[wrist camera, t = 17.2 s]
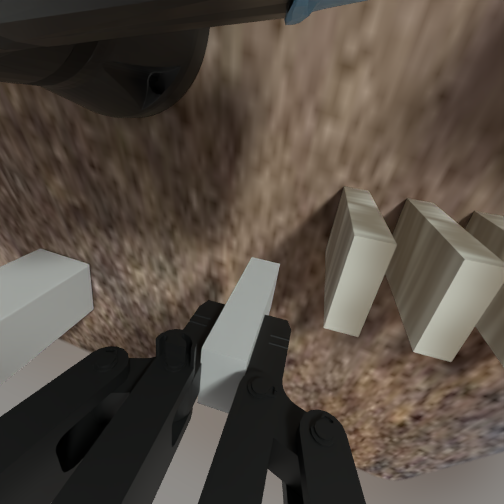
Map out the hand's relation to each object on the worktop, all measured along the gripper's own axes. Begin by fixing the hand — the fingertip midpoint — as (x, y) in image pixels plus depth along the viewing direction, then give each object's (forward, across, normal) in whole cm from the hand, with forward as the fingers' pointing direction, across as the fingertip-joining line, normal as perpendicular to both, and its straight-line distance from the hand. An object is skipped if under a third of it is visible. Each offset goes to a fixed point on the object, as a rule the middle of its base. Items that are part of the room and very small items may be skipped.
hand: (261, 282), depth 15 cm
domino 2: (+12, +10, 0) cm, 16 cm away
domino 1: (+12, +5, 0) cm, 13 cm away
